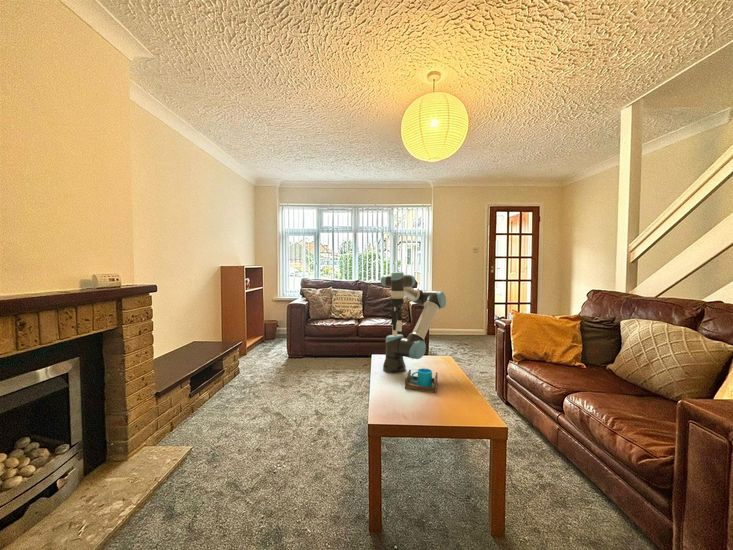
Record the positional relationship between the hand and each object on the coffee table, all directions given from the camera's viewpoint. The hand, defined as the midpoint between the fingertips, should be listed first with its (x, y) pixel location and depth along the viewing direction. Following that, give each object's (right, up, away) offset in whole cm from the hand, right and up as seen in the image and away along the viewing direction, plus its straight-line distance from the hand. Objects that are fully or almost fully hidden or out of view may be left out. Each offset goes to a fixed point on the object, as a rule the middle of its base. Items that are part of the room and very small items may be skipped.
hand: (397, 333), depth 177 cm
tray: (+13, -29, -6) cm, 32 cm away
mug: (+13, -28, -7) cm, 32 cm away
